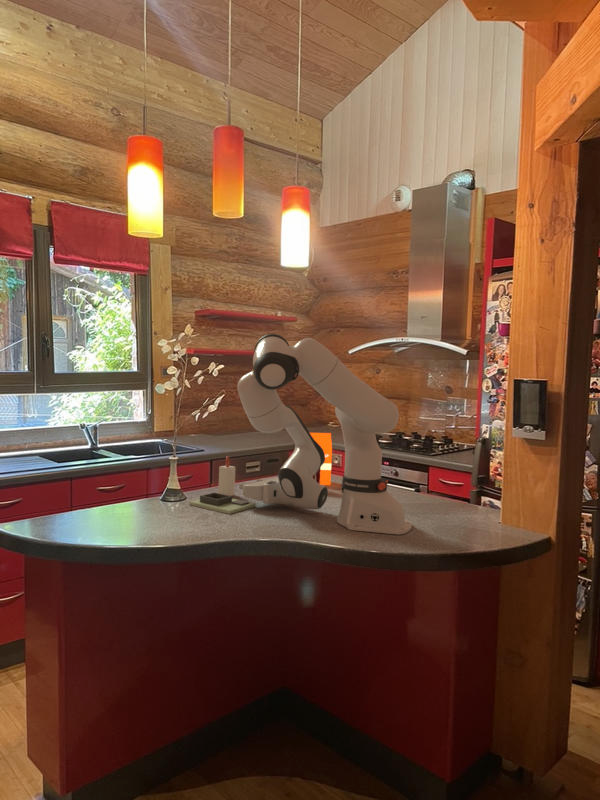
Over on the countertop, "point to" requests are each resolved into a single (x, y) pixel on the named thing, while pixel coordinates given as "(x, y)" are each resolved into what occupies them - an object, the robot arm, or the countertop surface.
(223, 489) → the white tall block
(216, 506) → the board
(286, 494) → the robot arm
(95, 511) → the countertop surface
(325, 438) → the orange juice
